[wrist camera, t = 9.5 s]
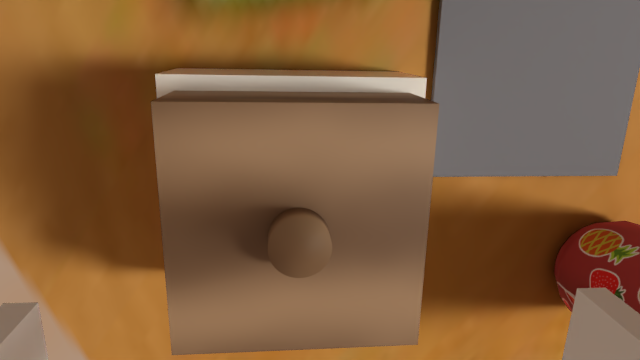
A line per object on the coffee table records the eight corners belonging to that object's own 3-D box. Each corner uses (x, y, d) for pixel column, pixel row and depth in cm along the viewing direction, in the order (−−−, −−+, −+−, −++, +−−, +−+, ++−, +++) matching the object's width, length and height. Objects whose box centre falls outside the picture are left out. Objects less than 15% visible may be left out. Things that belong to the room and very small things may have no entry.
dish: (178, 67, 25) (155, 74, 20) (398, 71, 26) (426, 77, 21) (191, 271, 28) (174, 318, 23) (385, 266, 29) (407, 310, 24)
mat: (443, -45, 24) (446, -47, 24) (655, -37, 25) (661, -38, 25) (424, 174, 28) (426, 176, 27) (612, 173, 29) (616, 175, 28)
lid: (174, 90, 20) (141, 105, 15) (409, 92, 21) (451, 107, 16) (188, 303, 23) (165, 374, 18) (395, 296, 24) (426, 362, 19)
